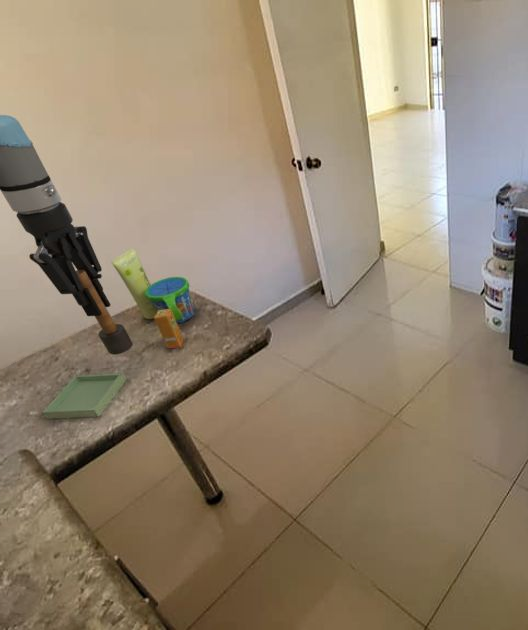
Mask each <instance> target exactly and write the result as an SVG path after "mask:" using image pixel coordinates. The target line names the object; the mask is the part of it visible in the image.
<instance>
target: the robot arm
mask: <svg viewBox="0 0 528 630" xmlns="http://www.w3.org/2000/svg"><path fill="white" fill-rule="evenodd" d="M0 192H1V195H3V197H4V199H5V200H6V202H7V204H8V205H9V207H10V209H11V210H12V211H13V212H15V213H16V218H17V219H18V221H19V223H20V225H21V226H22V228H23V229H24V231H25V232H26V233H27V234H30V235H31V236H33V238H34V241H35V245H36V247H37V249H36V251H35V253H30V254H29V259H30V260H31V261H32V262H34V263H35V264H37V265H38V266H39V267H40V270H42V272H43V273H44V274H45V276H46V277H47V278H48V280H50V282H51V283H52V285H53V286H54V287H55V288H56V290H57V291H58V292H59V294H61V295H72V297H73V298H74V300H75V301H76V304H77V305H78V306H80V307H81V308H82V310H83V311H84V313H85V315H86V316H87V317H95V316H100V315H101V314H102V313H101V311H100V309H99V307H98V306H97V304H96V302H95V300H94V299H93V297H92V295H91V293H90V292H89V290H88V288H83V286H82V284H81V282H80V279H79V277H78V275H77V273H76V271H77V270H85V272H86V273H87V275H88V277H89V279H90V280H91V282H92V284H93V286H94V287H95V289H96V291H97V293H98V295H99V296H100V298H101V300H102V302H103V303H104V305H105V307H106V308H109V307H111V303H110V301H109V299H108V297H107V295H106V294H105V292H104V287H103V285H102V284H101V282H100V280H99V279H102V277H103V275H102V273H100V272H102V270H103V269H102V266H101V263H100V261H99V259H98V257H97V254H96V252H95V250H94V248H93V246H92V243H91V241H90V239H89V235H88V230H87V227H86V226H84V225H83V226H82V225H80V226H74V225H73V224H72V223H73V220H74V219H73V217H72V214H71V213H70V212H69V210H68V208H67V206H66V204H65V203H63V202H61V201H62V197H61V195H60V194H59V192H58V190H57V188H56V186H55V185H54V183H53V181H52V179H51V177H50V175H49V174H48V171H47V170H46V168H45V166H44V164H43V162H42V159H41V158H40V156H39V154H38V152H37V150H36V148H35V146H34V142H33V141H32V140H31V139H30V138H29V136H28V135H27V133H26V131H25V130H24V128H23V127H22V125H21V124H20V122H19V120H18V119H16V118H15V117H14V116H11V115H7V114H0Z"/></svg>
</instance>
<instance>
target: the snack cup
mask: <svg viewBox="0 0 528 630" xmlns="http://www.w3.org/2000/svg"><path fill="white" fill-rule="evenodd" d="M145 294H146V297H147V298H148V299H149V300H150V301H151V302H152V303H153V305H154V306H155V307H156V309H157V310H164V309H171V310H172V313H173V315H174V317H175V320H176V322H177V324H182V323H184V322H186V321H188V320H189V319H191V318H192V317H193V316H194V315H195V308H194V304H193V299H192V295H191V291H190V283H189V281H188V279H187V278H185V277H183V276H172V277H171V276H170V277H166V278H163V279H159V280H157V281H155V282H153V283H151V285H150V286H149V287H148V288H147V289H146V291H145Z"/></svg>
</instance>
